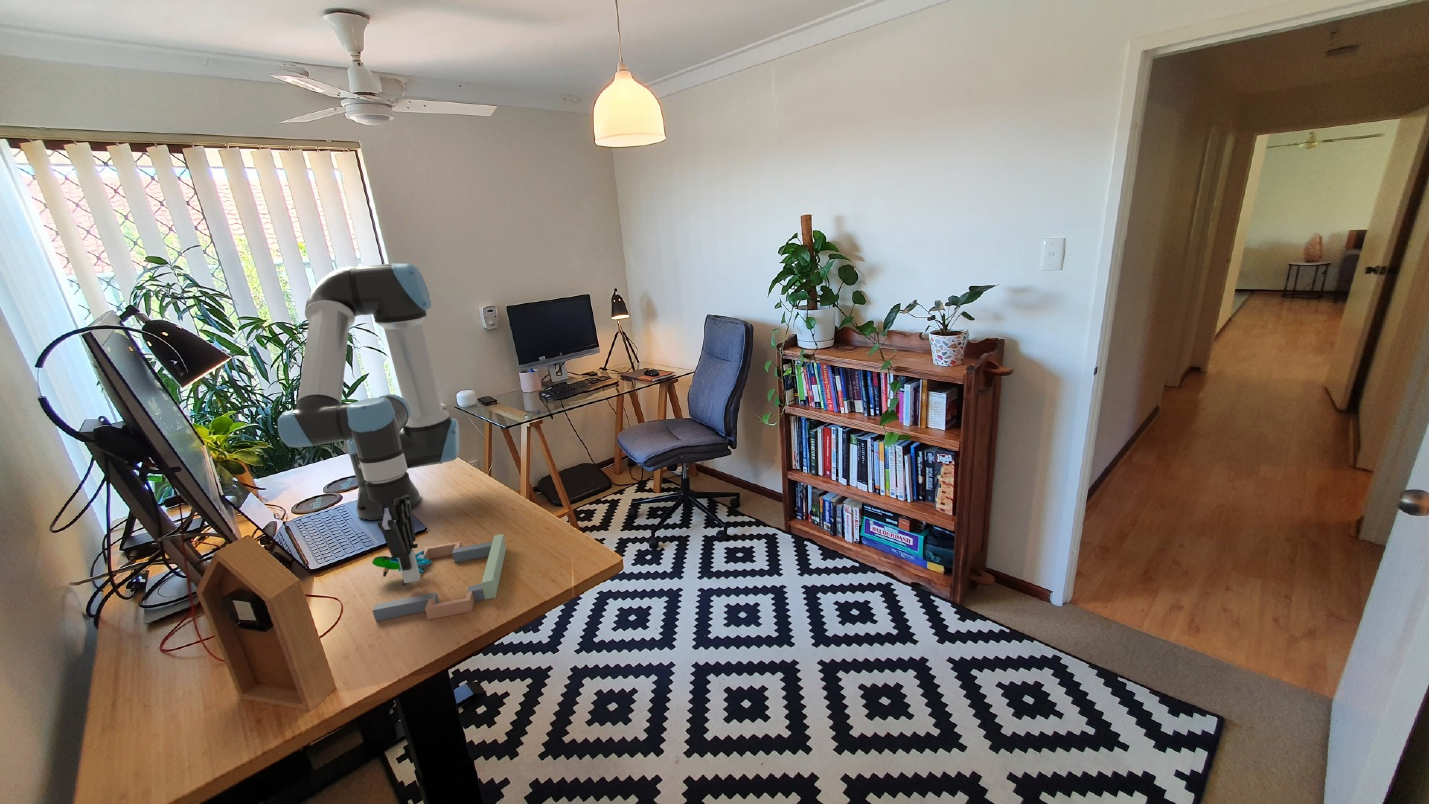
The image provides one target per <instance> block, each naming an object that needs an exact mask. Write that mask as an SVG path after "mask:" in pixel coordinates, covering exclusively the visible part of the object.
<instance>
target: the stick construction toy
mask: <svg viewBox="0 0 1429 804" xmlns="http://www.w3.org/2000/svg"><path fill="white" fill-rule="evenodd" d="M421 554H422V555H424V550H421V551H419V552H417V553H415V557H416V560H417V561H423V562H417V565H422V564H427V565H429V566H431V565H432V562H433V560H432V558H430V559H429V560H426V559H422V558H417V557H418V556H419V555H421ZM371 563H372V565H374V566H375V567H379V568H383V571H382V573H383V574H382V577H383V578H384V577H385V578H386V577H387V574H388V573H389V570H391V571H396V570H397V572H401V568H400V564H399V560H398V558H395V559H393V558H392V556H386V555H385V556H384V555H383V556H382V555H381V556H380V555H379V556H376V557H374V558H373V560H372V561H371ZM418 570H419V573H420V574H421V573H424V571H425V568H422V569H420V568H418ZM407 584H408V583H404V580H403V581H402V584H401V585H402V586H407Z"/></svg>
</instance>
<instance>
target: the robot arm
mask: <svg viewBox="0 0 1429 804" xmlns="http://www.w3.org/2000/svg"><path fill="white" fill-rule="evenodd" d="M430 297H431V296H430V293H429V290H428V287H427V283H426V282H425V279H424V277H423V275H422V274H421V271H420V270H419V268H417V266H415V265H414V264H412V263H397V262H396V263H395V262H394V263H384V264H372V265H361V266H360V265H359V266H346V267H345V266H344V267H340V268H338V269H336V270H333V271H332V272H329V274H327V275H326V276H324V277H323V278H322V279H321V280H320V281H319V282H318V283H317V284H316V285H315V286H314V288H313V289H312V291H311V292H310V294H309V295H308V297H307V300H306V304H305V309H304V317H305V318H306V320H307V321H308V327H307V333H306V334H307V335H306V339H305V340H306V341H305V348H304V355H303V360H302V361H303V362H302V369H301V376H300V382H299V389H298V395H297V396H298V397H297V403H296V407H295V409H291V410H286V411H284V412H282V413H281V415H279V417H278V419H277V431H278V435H279V438H280V439H281V441H282V442H283V443H284V444H285V445H286V446H287V447H289V448H290V447H291V448H303V447H304V448H305V447H315V446H318V445H325V444H330V443H337V442H341V441H343V442H344V441H346V445H347V449H348V456H350V457H349V458H350V461H351V464H352V465H351V466H352V468H353V471H354V475H355V479H356V482H357V486H358V491H357V501H356V512H357V516H358V517H359V518H360V519H361V518H362V520H365V519H368V520H367V521H377V519H378V520H382V521H378V522H377V527H378V528H379V530H380V531H381V533H382V536H383V537H384V540H385V543H386V545H387V548H388V551H389V553H390V555H391V556H390V557H392V558H393V559H395V558H398V560H399V564H400V568H401V571H400V572H401V575H402V579H403V580H404V583H407V584H408V583H413V582H418V581H419V580H420V578H421V573H420V572H419V570H418V565H417V561H416V557H415V554H416V553H415V550H414V549H418V547H419V545H418V543H414V542H416V541H417V540H416V539H417V538H416V533H415V524H414V519H413V518H414V517H413V513H412V512H413V511H412V509H413V508H415V507H417V506H418V505H419V504H420V502H421V495H420V491H419V490H418V488H417V487H416V486H415V484H414V483H413V481H412V480H411V478H410V474H409V472H407V471H408V469H414V468H421V467H426V466H433V465H439V464H440V465H442V464H445V463H448V462H453V461H455V460H456V459H457V458H458V457H459V453H460V426H459V425H460V424H459V421H458V419H457V418H451V415H450V412H449V411H448V410H445V409H443V408H442V404H441V399H440V395H439V392H438V386H437V383H436V379H435V378H436V377H435V373H434V370H433V366H432V362H431V358H430V352H429V348H428V344H427V339H426V335H425V331H424V327H423V322H424V320H425V319H426V318H427V315H428V314H427V311H429V310H430V309H431V307H432V300H431V298H430ZM362 315H363V316H369V315H372V316H373V319H374V323H375V324H377V325H378V326H380V327H381V328H383V329H384V330H383V331H384V334H385V337H386V338H385V339H386V342H387V346H388V348H389V354H390V356H391V360H392V364H393V369H394V372H395V376H396V380H397V383H398V387H399V391H400V394H401V395H400V396H399V395H397V394H389V393H388V394H384V395H381V396H380V395H379V396H378V397H370V398H364V399H360V400H357V401H355V402H350V403H342V399H343V389H344V380H345V371H346V360H347V351H348V341H349V330H350V327H352V326H353V325H354V324H355V321H356V317H358V316H362Z"/></svg>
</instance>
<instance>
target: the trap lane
mask: <svg viewBox="0 0 1429 804" xmlns="http://www.w3.org/2000/svg"><path fill="white" fill-rule="evenodd" d="M423 550H424V555H422V554H421V555H419V556H418V557H417V558H422V559H426V560H429V559H435V558H440V557H445V556H449V555H450V556H451V555H452V557H453V562H454V563H460V562H465V561H471V560H476V559H481V558H487V561H486V564H485V568H484V572H483V576H482V578H481V579H482V580H481V583H480V584H474V585H473V584H472V585H469V586H468V587H467V591H466V595H465V598H458V599H453V600H449V601H444V602H443V601H442V602H440V601H439V596H438V592H431V593H426V594H421V595H420V594H419V595H415V596H411V597H406V598H400V599H394V600H390V601H384V602H380V603H375V605H374V607H373V609H372V612H373V617H374V620H375V622H379V621H384V620H385V621H386V620H389V619H390V620H391V619H393V618H399V617H403V616H410V615H414V614H419V613H420V614H421V613H425V614H426V619H427V621H430V620H435V619H439V618H444V617H449V616H454V615H459V614H464V613H469V612H472V611H473V609H474V605H475V602H481V601H486V600H490V599H495V598H496V597H497V592H498V589H499V584H500V580H501V574H502V572H503V571H502V570H503V565H504V560H505V557H506V551H507V546H506V541H505V535H504V533H501V534H495V535H493V539H492V541H488V542H484V543H483V542H482V543H478V544H471V545H467V546H463V543H462V541H461V540H460V541H454V542H448V543H442V544H437V545H431V546H426V547H423ZM423 550H422V551H423ZM416 561H417V560H416ZM417 562H423V561H417ZM427 566H428V564H422V565H418V568H420V569H421V570H422V568H424V569H425V568H427Z"/></svg>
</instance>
